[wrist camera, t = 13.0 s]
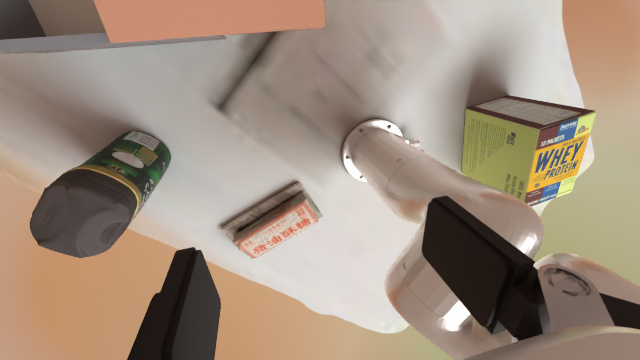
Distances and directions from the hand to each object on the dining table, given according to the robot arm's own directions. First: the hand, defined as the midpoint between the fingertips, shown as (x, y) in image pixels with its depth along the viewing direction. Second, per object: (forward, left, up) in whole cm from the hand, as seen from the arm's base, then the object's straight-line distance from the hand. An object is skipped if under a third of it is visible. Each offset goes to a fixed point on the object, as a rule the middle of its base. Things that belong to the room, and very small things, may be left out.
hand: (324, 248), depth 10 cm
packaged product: (+3, +24, -37) cm, 44 cm away
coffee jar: (+22, +7, -36) cm, 43 cm away
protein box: (-44, +13, -37) cm, 59 cm away
